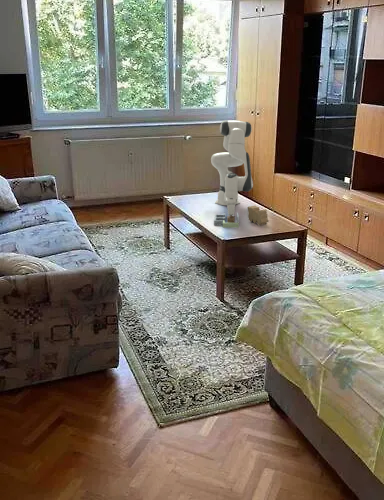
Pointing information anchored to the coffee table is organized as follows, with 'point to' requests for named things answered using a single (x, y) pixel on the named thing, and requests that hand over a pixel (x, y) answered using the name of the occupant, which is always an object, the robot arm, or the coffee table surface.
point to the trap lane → (220, 220)
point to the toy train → (257, 215)
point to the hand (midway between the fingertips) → (231, 218)
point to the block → (230, 219)
